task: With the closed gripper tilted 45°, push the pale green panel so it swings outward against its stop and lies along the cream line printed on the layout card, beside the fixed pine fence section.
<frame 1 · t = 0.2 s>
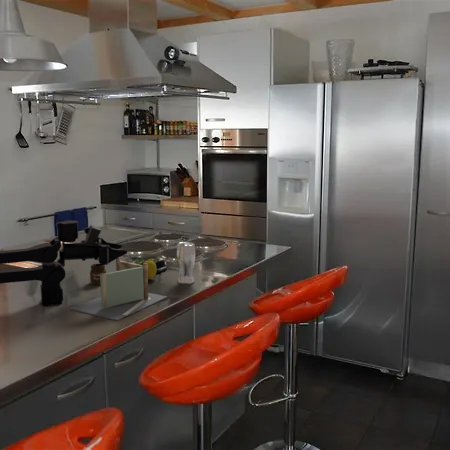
hand: (124, 248, 184), 17 cm above the table, tool horizontal, fingers open, 9 cm apart
layout card: (120, 303, 178), on the table
pale green panel: (122, 286, 174), point 7 cm above the table, hinge at 0.0°
brown jar: (98, 283, 201), on the table
lemon: (149, 279, 206), on the table
beer glass: (186, 282, 203), on the table
fence fixed section: (146, 300, 181), on the table
salad plate: (148, 269, 222), on the table
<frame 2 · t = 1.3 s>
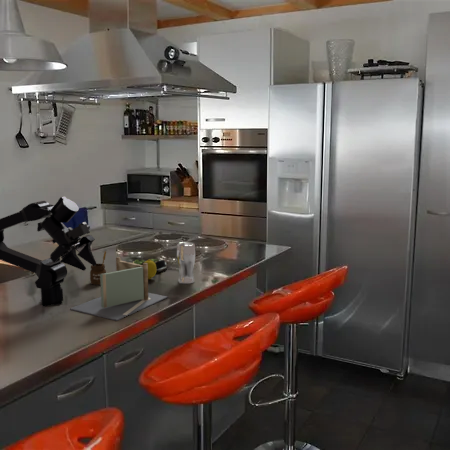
hand: (90, 267, 172), 14 cm above the table, tool tilted 45°, fingers open, 6 cm apart
nothing on the table moved.
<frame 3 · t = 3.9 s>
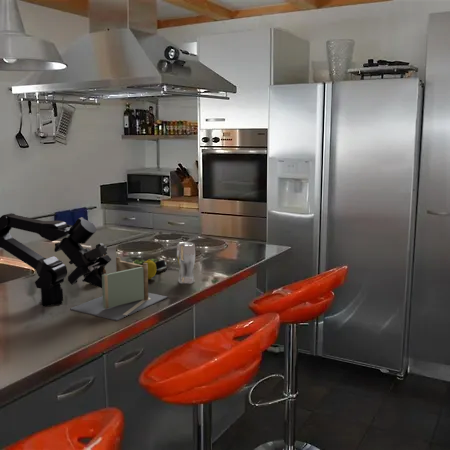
hand: (107, 288, 171), 7 cm above the table, tool tilted 45°, fingers closed
pale green panel: (123, 287, 174), point 7 cm above the table, hinge at 4.0°, touching gripper
everything else where it was.
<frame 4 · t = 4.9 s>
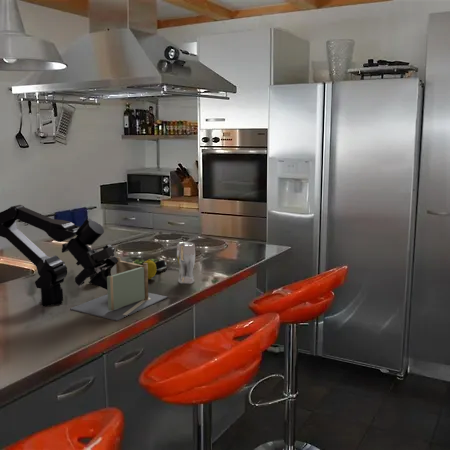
hand: (114, 290, 170), 7 cm above the table, tool tilted 45°, fingers closed
pale green panel: (126, 288, 173), point 7 cm above the table, hinge at 14.5°, touching gripper
everything else where it was.
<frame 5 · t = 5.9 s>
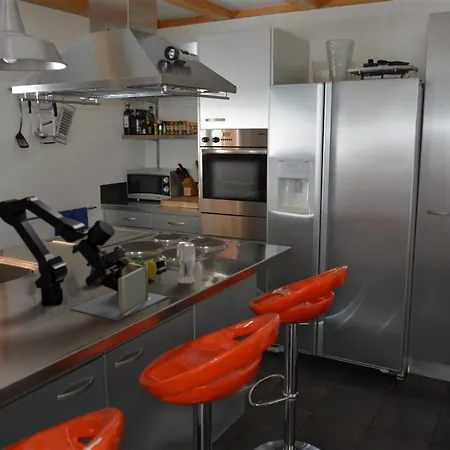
hand: (124, 291, 169), 7 cm above the table, tool tilted 45°, fingers closed on pale green panel, 2 cm apart
pale green panel: (132, 289, 172), point 7 cm above the table, hinge at 31.0°, touching gripper
everything else where it was.
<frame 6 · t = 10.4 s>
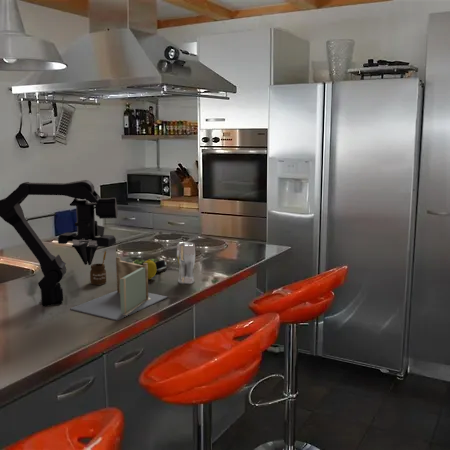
hand: (87, 264, 177), 13 cm above the table, tool pointing down, fingers closed
pale green panel: (133, 289, 172), point 7 cm above the table, hinge at 33.0°
everything else where it was.
at the end: pale green panel at +33° (first picture: +0°) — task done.
